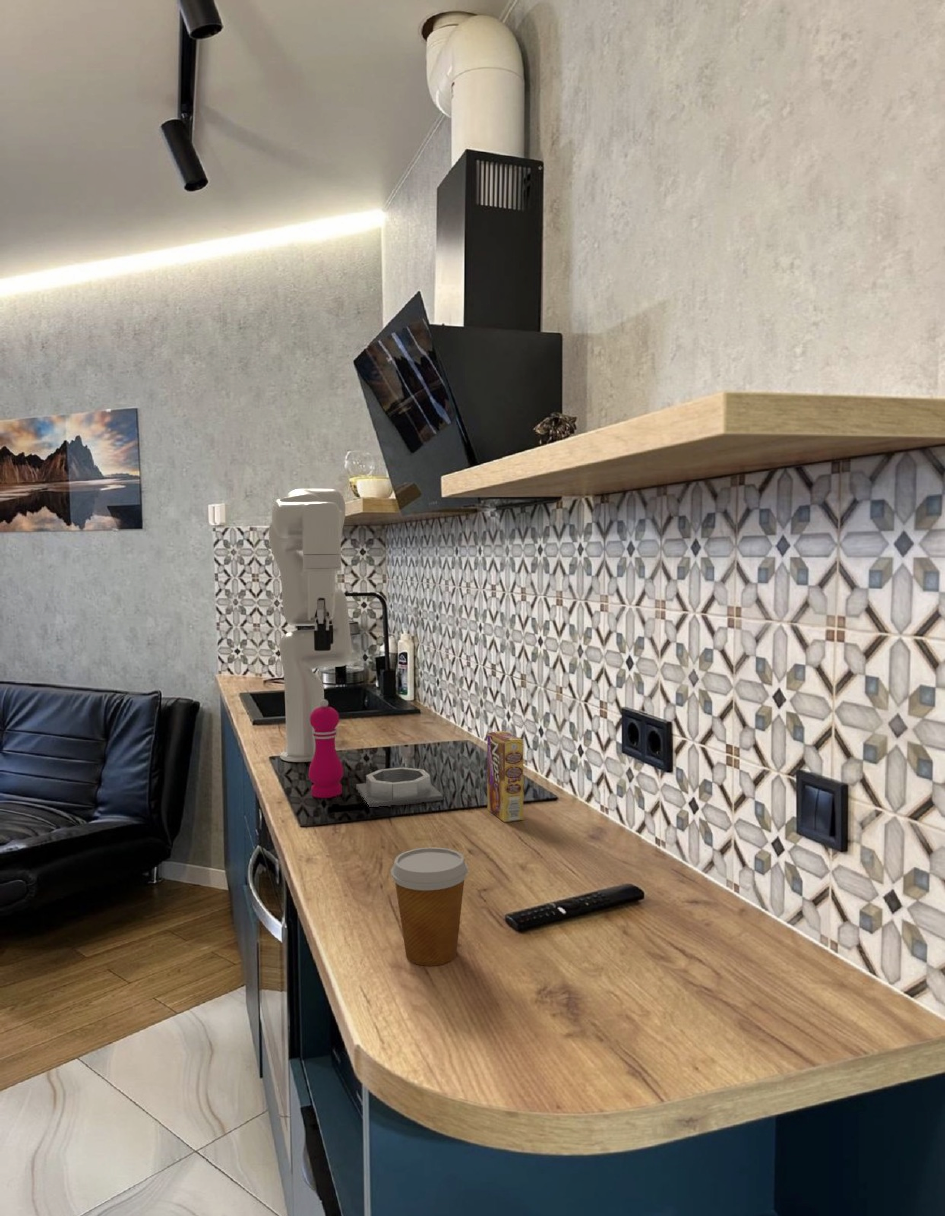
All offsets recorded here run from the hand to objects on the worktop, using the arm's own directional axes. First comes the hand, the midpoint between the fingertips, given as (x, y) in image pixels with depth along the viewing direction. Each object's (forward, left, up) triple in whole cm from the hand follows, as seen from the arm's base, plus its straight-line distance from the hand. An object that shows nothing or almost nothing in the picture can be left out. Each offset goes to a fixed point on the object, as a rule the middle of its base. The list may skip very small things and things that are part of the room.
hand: (324, 647), depth 171 cm
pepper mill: (-3, 0, -31) cm, 32 cm away
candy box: (+24, +30, -31) cm, 50 cm away
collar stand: (+3, +14, -31) cm, 34 cm away
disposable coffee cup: (+73, +2, -31) cm, 80 cm away
